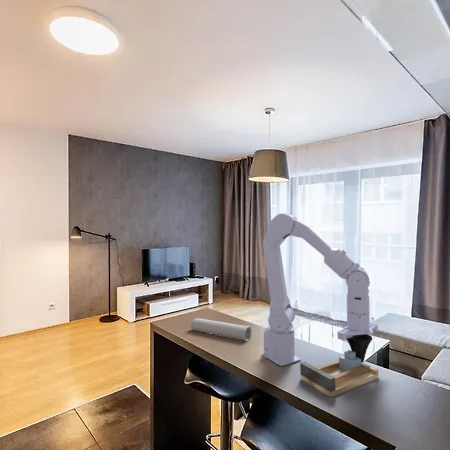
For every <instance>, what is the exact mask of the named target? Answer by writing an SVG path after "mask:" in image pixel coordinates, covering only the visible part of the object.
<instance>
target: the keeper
mask: <svg viewBox="0 0 450 450" xmlns="http://www.w3.org/2000/svg"><path fill="white" fill-rule="evenodd" d="M343 354H344V355H340V356H339V357H338V360H339V369H341V370H343V371H345V372H346V371H349V370H351V369H354V368H357V367H360V366H361V359H360V358H358V357H356V355H355V352H353V351H352V350H351V349H347V350H345V351H343Z"/></svg>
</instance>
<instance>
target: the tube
mask: <svg viewBox="0 0 450 450" xmlns="http://www.w3.org/2000/svg"><path fill="white" fill-rule="evenodd" d="M190 328H191V330H197V331H202V332H207V333H212V334H217V335H221V336H220V337H222V336H225V337H224V338H227V337H230V338H229V339H232V338H233V340H237V339H238V340H237V341H242V340H243V342H245V341H246V339H249V340H248V341H250V340H251V337H252V327H251V326H250V325H240V324H236V323H229V322H225V321H219V320H218V321H217V320H210V319H206V318H201V317H200V318H199V317H196V318H194V319H191V322H190ZM197 331H196V332H197ZM202 332H201V333H202ZM207 333H206V334H207ZM212 334H211V335H212ZM217 335H216V336H217ZM248 341H246V343H247V342H248Z"/></svg>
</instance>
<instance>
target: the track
mask: <svg viewBox="0 0 450 450" xmlns="http://www.w3.org/2000/svg"><path fill="white" fill-rule="evenodd" d="M299 367H300V368H299V371H300V380H301V381H303V382H305V383H306V384H308V385H310V386H311V387H313V388H315V389H316V390H318V391H319V392H320V393H323V394H325V395H326V396H327V397H329V398H333V397H335V396H337V395H341V394H342V393H345V392H347V391H350V390H352V389H354V388H357V387H360V386H362V385H364V384H367V383H369V382H372V381H375V380H378V379H379V369H378V368H375V367H373V366H371V365H368V364H367V363H365V362H362V363H361V366H360V367H357V368H354V369H351V370H349V371H346V372H345V371H343V370H341V369H339V359H337V360H334V361H331V362H327V363H324V364H322V365H319V366H314V365H312V364H310V363H309V362H306V361H303V362H300V364H299Z"/></svg>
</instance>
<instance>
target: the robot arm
mask: <svg viewBox="0 0 450 450" xmlns="http://www.w3.org/2000/svg"><path fill="white" fill-rule="evenodd" d="M290 236H291V237H296V238H301V239H303V240H304V241H305V242H306V243H308V245H310V246H311V247H313V248H314V249H315V250H316V251H317V252H318V253H320V254H321V255H322V257H323V260H324V261H323V263H324V264H325V265H326V266H327V267H329V269H331V270H332V271H333V272H334V273H335V274H336V275H337V276H338V277H339V278H340V279H343V280H345V283H346V286H347V294H346V316H347V317H346V323H347V324H346V326H344V327H343V328H342V329H340V330H338V331H337V339H338V340H340V341H344V342H345V341H347V343H348V344H349V347H350V350H351V351H353V352H355V355H356V357H358V358H360V359H361V363H365V362H364V361H365V358H366V354H367V350H368V348H369V346H370V343H371V342H372V341H373V336H372V335H374V332H375V333H376V332H378V331H379V325H378V323H373V322H371V321H370V295H369V293H370V291H369V286H370V285H371V284H370V283H371V281H370V277H369V274H368V272H367V271H366V270H365V268H363V267H361V266H360V263H358V262H355V261H354V260H353V259H352V258H350V257H349V256H348V255H347V251H346V250H344V249H340V248H339V247H338V248H337V247H335V248H332V246H329V244H328V243H326V242H325V241H324V240H323V238H321V236H319V235H318V234H317V233H316V232H315V230H313V229H312V228H311V227H310V226H308V225H307V224H306V223H304V222H303V221H302V220H300V219H298V218H297V217H296V216H294V215H293V214H287V213H284V212H283V213H278V214H277V215H275V216H274V217H273V218H272V219H271V220H270V221H269V223H268V228H267V230H266V232H265V235H264V238H263V240H262V245H263V252H264V253H263V254H264V259H265V267H266V274H267V281H268V286H269V287H268V288H269V293H270V302H269V315H268V319H267V321H268V326H267V327H266V328H265V330H264V332H263V352H262V353H261V356H263V357H265V358H266V359H267V360H270V361H272V362H273V363H274V364H276V365H277V366H280V367H282V366H286V365H289V364H293V363H297V362H300V361H301V360H302V359H301V358H300V357H298V356H297V355H295V354H296V353H295V328H294V326H293V322H294V320H295V319H296V317H295V316H296V313H295V310H294V308H293V307H292V305H291V300H290V298H289V296H288V292H287V285H286V277H285V272H284V264H283V257H282V251H281V246H282V244H283V243H284V242H285V241H286V239H287V238H289V237H290Z"/></svg>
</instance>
